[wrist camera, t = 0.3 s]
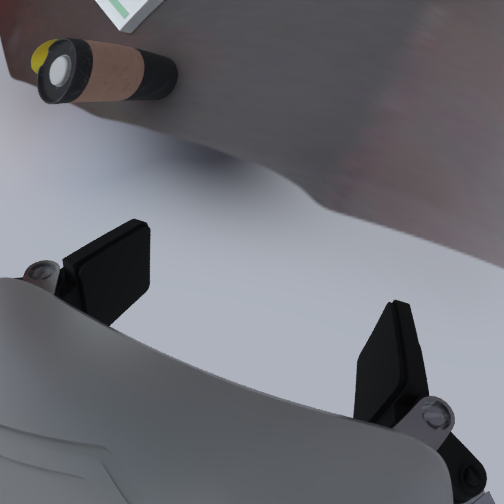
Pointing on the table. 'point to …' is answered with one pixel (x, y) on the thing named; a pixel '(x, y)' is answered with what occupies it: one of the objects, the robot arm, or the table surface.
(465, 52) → the table surface
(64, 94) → the travel mug
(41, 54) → the lemon
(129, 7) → the breaker panel
